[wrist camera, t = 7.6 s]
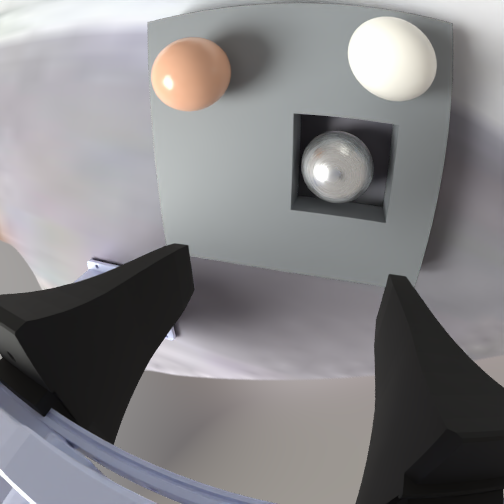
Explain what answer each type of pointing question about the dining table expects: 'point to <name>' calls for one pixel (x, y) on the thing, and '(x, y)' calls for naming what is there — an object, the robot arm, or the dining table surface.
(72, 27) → the dining table surface
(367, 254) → the hole plate
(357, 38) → the cream ball
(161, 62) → the terracotta ball
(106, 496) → the robot arm
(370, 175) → the steel ball
